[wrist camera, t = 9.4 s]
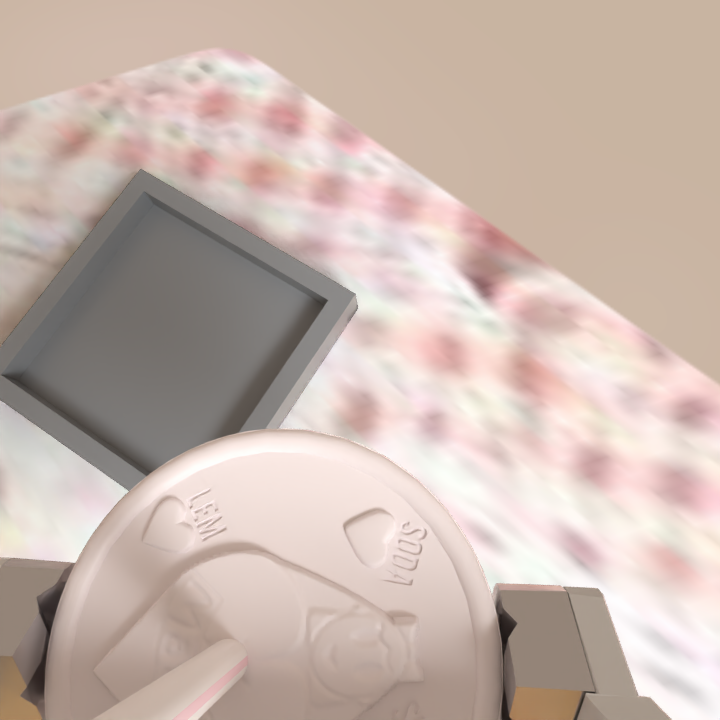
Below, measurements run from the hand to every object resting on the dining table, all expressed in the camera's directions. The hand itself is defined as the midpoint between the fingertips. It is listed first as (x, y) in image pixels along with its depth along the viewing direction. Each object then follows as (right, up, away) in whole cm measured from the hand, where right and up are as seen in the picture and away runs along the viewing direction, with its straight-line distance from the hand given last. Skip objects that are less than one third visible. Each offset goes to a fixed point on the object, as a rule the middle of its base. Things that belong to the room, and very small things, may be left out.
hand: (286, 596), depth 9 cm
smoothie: (0, -3, +8) cm, 9 cm away
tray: (-9, +4, +23) cm, 25 cm away
